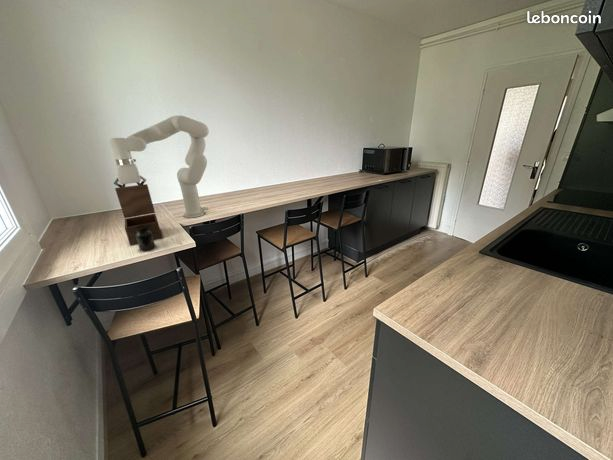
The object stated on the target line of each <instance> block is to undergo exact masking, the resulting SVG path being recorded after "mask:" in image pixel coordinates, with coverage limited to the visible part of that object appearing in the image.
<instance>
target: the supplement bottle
mask: <svg viewBox="0 0 613 460" xmlns="http://www.w3.org/2000/svg"><path fill="white" fill-rule="evenodd" d="M136 231H137V233H136V239H137V242H138V244H137V245H138V248H139V250H140V251H141V252H149V251H153V250H154V249H155V248H156V243H155V240H154V239H153V236H152V232H151V231H150V230H148V227H147V225H141V226H138V227H136Z"/></svg>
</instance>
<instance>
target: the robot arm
mask: <svg viewBox="0 0 613 460" xmlns="http://www.w3.org/2000/svg"><path fill="white" fill-rule="evenodd" d="M180 132H184V133H186V134H188V135H189V137H190V142H191V143H190V146H189V148H188V151H187V153H186V155H185V158H184V162H185V164H186V165H187V166H188V167H181V168H179V169H178V170H177V173H176V178H177V182H178V183H179V186H180V190H181V194H182V199H183V204H184V208H185V212H184V214H183V216H184V217H185V218H189V219H191V218H198V217H201V216H204V215H205V211H209V207H208V206H207V207H206V206H203V207H202V205H201V202H200V201H201V200H200V195H199V191H198V187H197V185H198V184H199V183H200V182H201V181H202V178H203V176H204V173H205V171H206V168H207V165H208V159H207V157H206V156H205V155H204V152H205V149H206V140H205V138H207V136H208V135H209V133H210V131H209V128H208V125H206V124H205V123H204V122H201V121H198V120H195V119H193V118H190V117H188V116H185V115H180V114H179V115H172V116H169V117H168V118H166V119H164V120H162V121H160V122H157V123H155V124H153V125H151V126H149V127H147V128H144V129H142V130H139V131H137V132H135V133H133V134H131V135H129V136H127V137H126V138H125V137H111V138H110V139H109V144H110V147H111V150H112V153H113V157H114V159H115V163H116V164H115V172H116V179H115V180H114V182H113V185H115V186H117V188H119V187H126V185H128V184H129V185H130V184H136V185H144V184H146V183H147V178H145V177H144V176H142V175H140V172H139V168H138V167H137V165H136V163H135V162H137V159H136V158H133V156H132V153H131V152H138V153H139V152H143V151H145V150H146V149H147V145H149V144H151V143H154V142H159V141H164V140H166V139H168V138H171V137H172V136H173V135H175V134H177V133H180Z"/></svg>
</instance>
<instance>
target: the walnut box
mask: <svg viewBox="0 0 613 460" xmlns="http://www.w3.org/2000/svg"><path fill="white" fill-rule="evenodd" d="M141 225H147V227H148V230H150V231H151V232H152V236H153V239H154V241H158V240H162V239H163V236H162V232H161V229H160V225H159V221H158V218H157V215H156V213H151V214H146V215H140V216H134V217H128V218H124V230H125V233H126V236H127V240H128V242H129V246H134V245H138V242H137V239H136V233H137V231H136V227H138V226H141Z"/></svg>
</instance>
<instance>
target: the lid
mask: <svg viewBox="0 0 613 460" xmlns="http://www.w3.org/2000/svg"><path fill="white" fill-rule="evenodd" d="M148 186H149V185H148V184H147V183H144V184H143V185H138V184H136V185H129V186H125V187H115V188H114V190H115V192H116V195H117V199H118V203H119V206H120V209H121V212H122V215H123V218H124V219H127V218H133V217H138V216H144V215H150V214H156V211H155V207H154V204H153V201H152V197H151V193H150V189H149V187H148Z"/></svg>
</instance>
